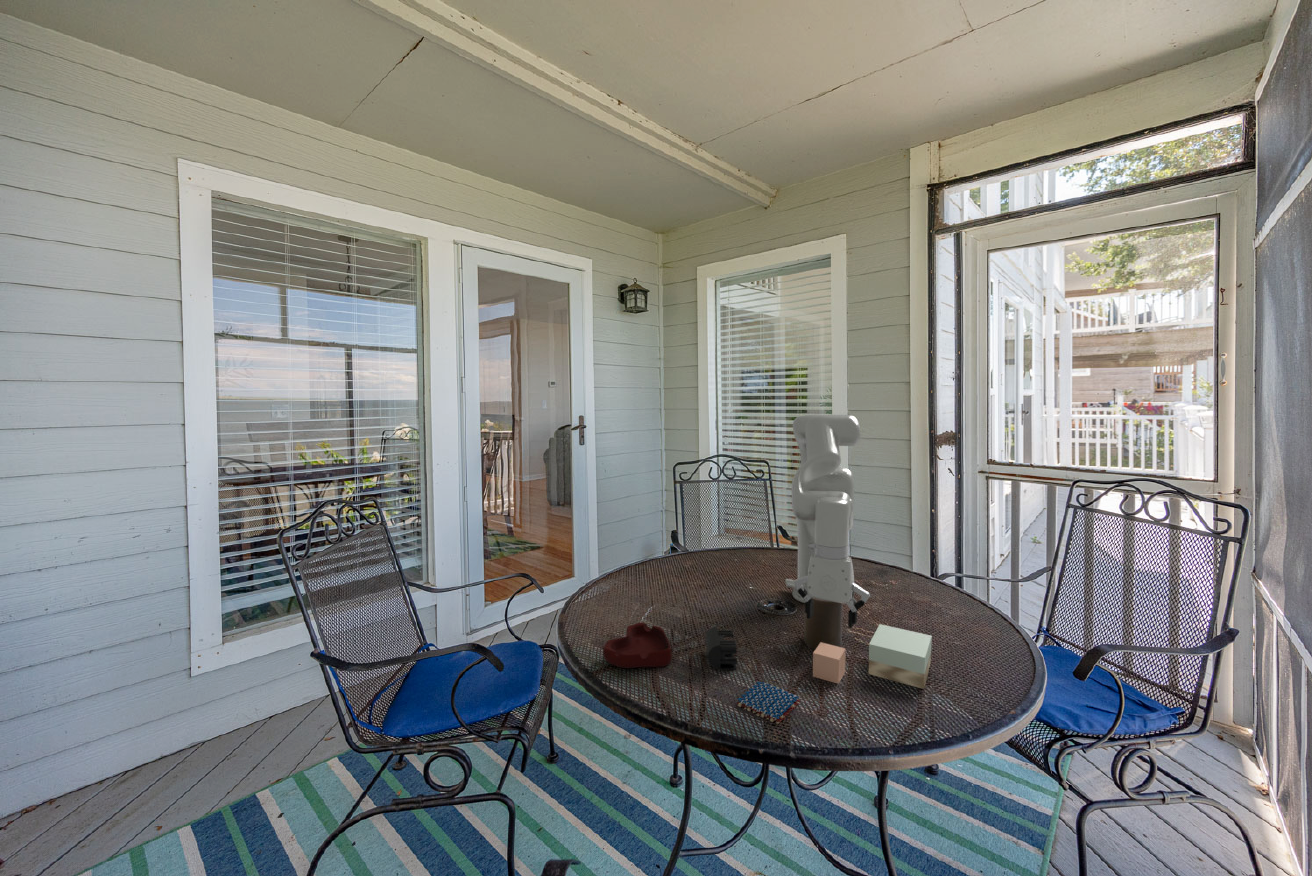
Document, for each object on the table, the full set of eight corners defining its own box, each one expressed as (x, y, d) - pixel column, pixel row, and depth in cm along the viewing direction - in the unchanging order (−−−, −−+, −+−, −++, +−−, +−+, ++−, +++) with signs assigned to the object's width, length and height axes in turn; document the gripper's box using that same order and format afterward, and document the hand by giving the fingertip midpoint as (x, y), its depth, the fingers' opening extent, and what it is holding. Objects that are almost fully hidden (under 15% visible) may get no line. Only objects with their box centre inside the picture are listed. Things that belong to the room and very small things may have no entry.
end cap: (705, 650, 141) (704, 626, 140) (732, 650, 141) (732, 626, 140) (708, 671, 131) (707, 645, 131) (737, 671, 131) (736, 645, 130)
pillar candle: (822, 655, 138) (824, 599, 136) (796, 639, 146) (797, 586, 144) (849, 646, 142) (851, 592, 140) (822, 631, 151) (824, 579, 149)
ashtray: (652, 684, 127) (651, 664, 126) (597, 666, 135) (596, 647, 135) (688, 651, 142) (687, 633, 141) (636, 636, 150) (636, 619, 150)
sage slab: (868, 659, 128) (869, 644, 128) (879, 638, 138) (879, 624, 138) (924, 674, 122) (925, 657, 121) (931, 651, 132) (931, 635, 131)
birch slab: (868, 675, 129) (868, 659, 128) (878, 653, 139) (879, 638, 138) (923, 690, 122) (924, 674, 122) (930, 666, 132) (931, 651, 132)
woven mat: (779, 728, 111) (779, 719, 110) (735, 708, 118) (735, 699, 117) (802, 704, 118) (802, 696, 118) (759, 686, 125) (760, 678, 125)
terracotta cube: (812, 676, 128) (813, 652, 128) (820, 665, 133) (820, 642, 133) (838, 684, 125) (838, 659, 124) (845, 672, 130) (845, 648, 129)
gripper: (789, 549, 127) (789, 618, 129) (866, 561, 118) (865, 636, 119) (800, 541, 133) (799, 607, 135) (874, 552, 124) (872, 623, 125)
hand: (830, 621), depth 127 cm, fingers open, 9 cm apart
